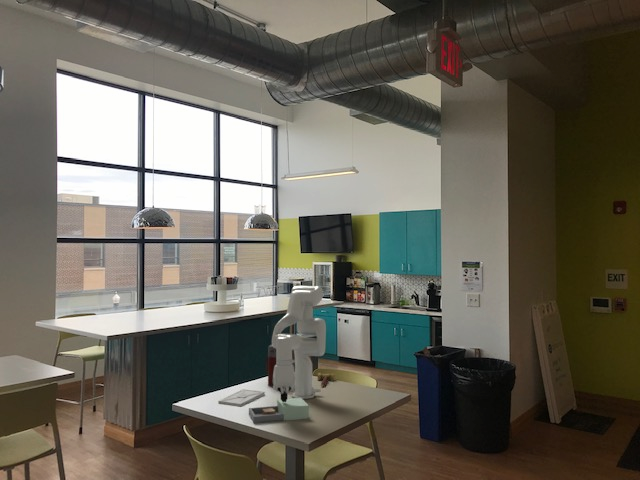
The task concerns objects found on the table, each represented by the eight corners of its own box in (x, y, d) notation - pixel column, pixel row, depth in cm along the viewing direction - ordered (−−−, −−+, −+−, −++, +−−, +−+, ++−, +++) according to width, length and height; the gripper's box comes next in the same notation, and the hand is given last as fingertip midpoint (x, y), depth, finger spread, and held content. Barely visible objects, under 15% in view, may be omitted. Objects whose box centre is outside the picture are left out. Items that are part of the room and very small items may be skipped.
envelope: (218, 404, 268) (241, 407, 263) (218, 400, 268) (240, 403, 263) (243, 392, 290) (264, 395, 285) (243, 388, 290) (264, 391, 285)
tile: (262, 409, 246) (262, 415, 246) (265, 412, 241) (265, 418, 241) (272, 408, 248) (272, 414, 248) (275, 410, 243) (275, 417, 243)
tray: (277, 412, 254) (277, 405, 254) (283, 420, 240) (283, 414, 240) (248, 414, 249) (248, 408, 249) (253, 423, 236) (253, 416, 236)
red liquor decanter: (268, 382, 314) (268, 335, 315) (286, 383, 312) (286, 336, 313) (264, 385, 305) (264, 337, 306) (282, 386, 303) (282, 338, 304)
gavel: (330, 383, 300) (313, 382, 301) (330, 390, 300) (313, 390, 302) (334, 372, 321) (318, 372, 322) (334, 379, 321) (318, 379, 322)
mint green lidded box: (300, 409, 257) (300, 397, 257) (308, 418, 244) (308, 405, 244) (277, 412, 254) (277, 399, 254) (283, 420, 240) (283, 407, 240)
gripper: (297, 360, 254) (297, 398, 253) (267, 362, 250) (267, 400, 249) (301, 363, 247) (301, 402, 246) (270, 365, 242) (270, 404, 242)
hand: (284, 401), depth 248 cm, fingers closed
